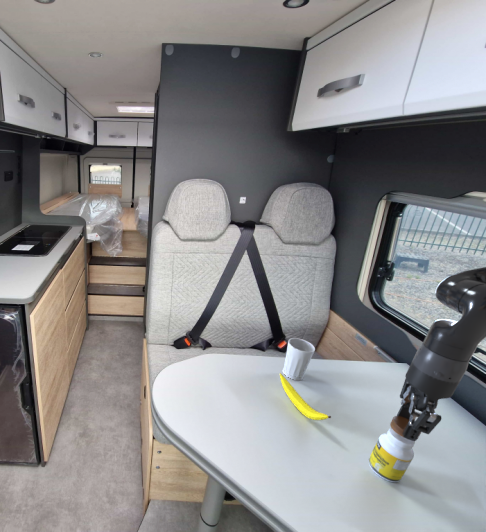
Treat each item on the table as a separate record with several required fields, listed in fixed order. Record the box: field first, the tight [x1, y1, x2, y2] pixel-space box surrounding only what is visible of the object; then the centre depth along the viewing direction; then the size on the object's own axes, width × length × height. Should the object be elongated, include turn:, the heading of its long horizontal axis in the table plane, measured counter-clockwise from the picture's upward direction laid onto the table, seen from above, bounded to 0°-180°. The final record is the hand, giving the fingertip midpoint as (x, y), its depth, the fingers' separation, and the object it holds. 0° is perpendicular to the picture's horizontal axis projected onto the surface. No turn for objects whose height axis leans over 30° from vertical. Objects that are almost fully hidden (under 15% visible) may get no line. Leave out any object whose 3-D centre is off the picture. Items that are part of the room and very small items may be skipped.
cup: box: [282, 337, 316, 381], centre depth 104 cm, size 8×8×12 cm
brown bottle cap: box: [389, 415, 422, 440], centre depth 70 cm, size 5×5×2 cm
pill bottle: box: [368, 427, 416, 483], centre depth 73 cm, size 6×6×12 cm
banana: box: [279, 372, 332, 421], centre depth 91 cm, size 3×19×6 cm, turn 15°
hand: (405, 428), depth 70 cm, fingers closed on brown bottle cap, 5 cm apart
